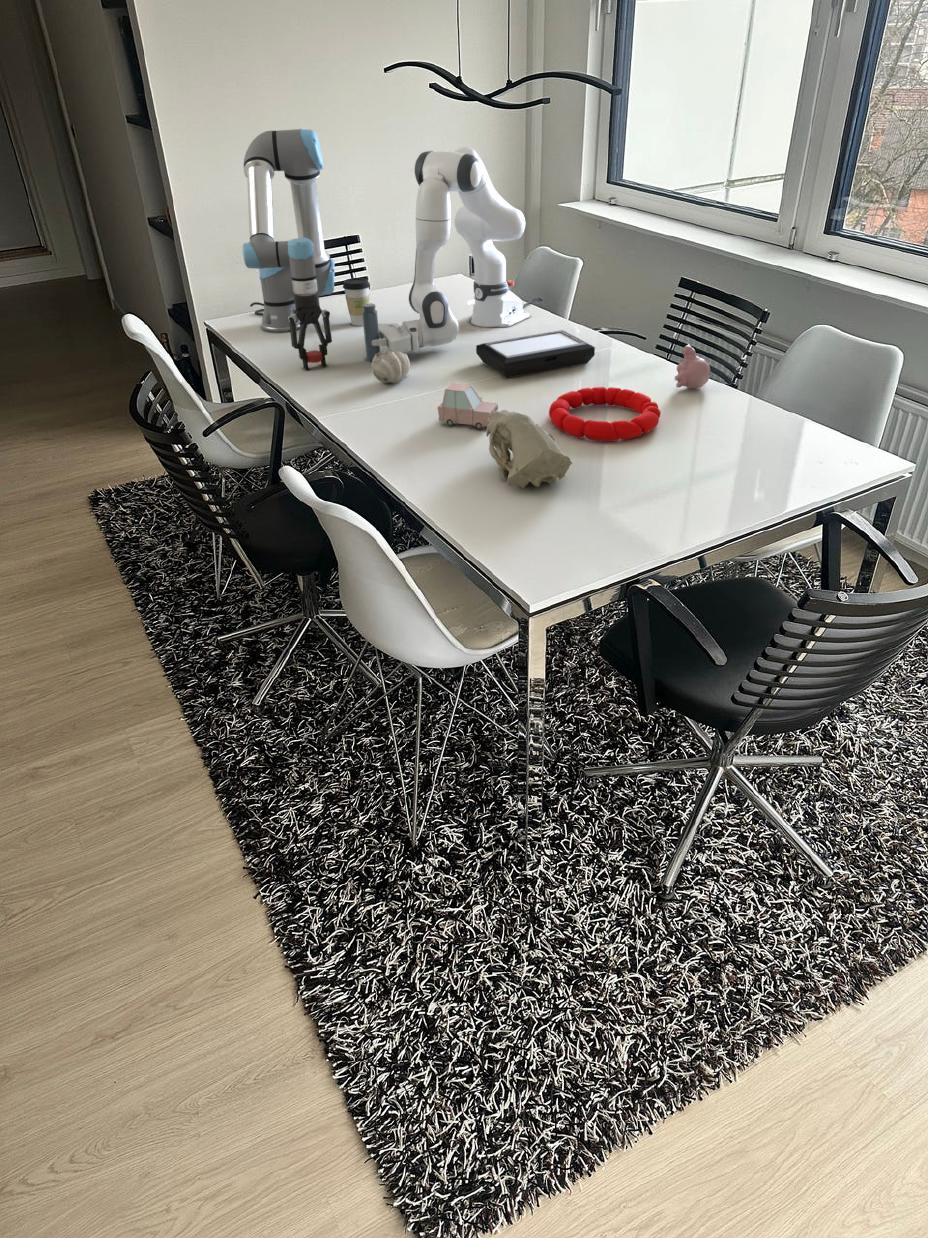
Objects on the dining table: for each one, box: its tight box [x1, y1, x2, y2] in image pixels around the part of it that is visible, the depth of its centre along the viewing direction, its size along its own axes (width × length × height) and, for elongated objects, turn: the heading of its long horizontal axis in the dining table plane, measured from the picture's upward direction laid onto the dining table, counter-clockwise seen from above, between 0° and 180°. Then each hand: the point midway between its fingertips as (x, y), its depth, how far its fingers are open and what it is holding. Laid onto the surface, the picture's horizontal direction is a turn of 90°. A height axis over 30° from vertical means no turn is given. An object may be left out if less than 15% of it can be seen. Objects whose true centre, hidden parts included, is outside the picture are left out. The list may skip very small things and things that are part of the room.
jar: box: [362, 302, 381, 362], centre depth 289 cm, size 5×5×17 cm
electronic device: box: [475, 329, 596, 379], centre depth 283 cm, size 32×6×20 cm
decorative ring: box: [548, 386, 661, 442], centre depth 242 cm, size 7×30×30 cm
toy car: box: [437, 382, 499, 431], centre depth 243 cm, size 9×15×10 cm, turn 70°
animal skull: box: [485, 409, 573, 489], centre depth 216 cm, size 17×25×20 cm
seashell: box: [371, 349, 411, 384], centre depth 271 cm, size 10×15×10 cm
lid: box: [306, 350, 323, 364], centre depth 286 cm, size 6×6×2 cm
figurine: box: [674, 344, 711, 390], centre depth 259 cm, size 9×11×12 cm
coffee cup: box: [342, 277, 371, 327], centre depth 323 cm, size 10×10×15 cm
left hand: (314, 366), depth 288 cm, fingers closed on lid, 5 cm apart
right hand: (369, 339), depth 290 cm, fingers closed on jar, 5 cm apart
